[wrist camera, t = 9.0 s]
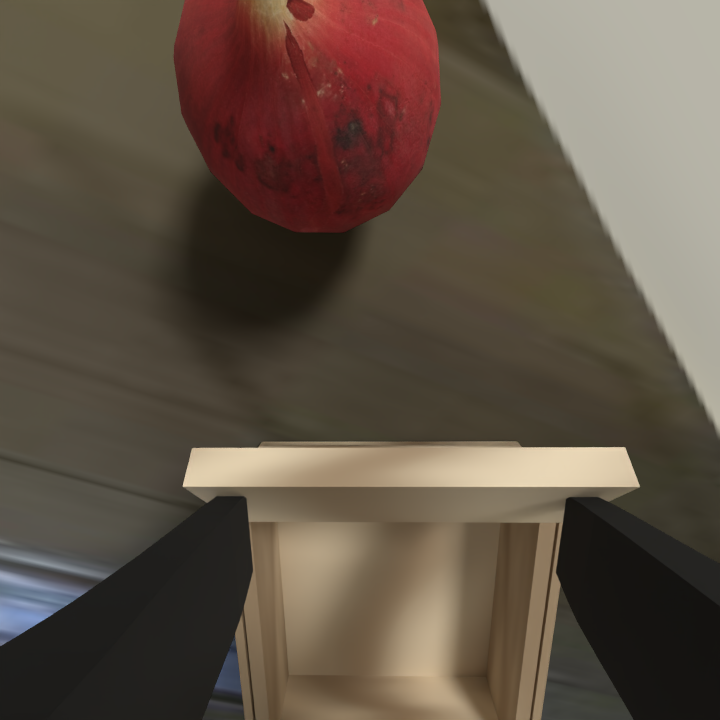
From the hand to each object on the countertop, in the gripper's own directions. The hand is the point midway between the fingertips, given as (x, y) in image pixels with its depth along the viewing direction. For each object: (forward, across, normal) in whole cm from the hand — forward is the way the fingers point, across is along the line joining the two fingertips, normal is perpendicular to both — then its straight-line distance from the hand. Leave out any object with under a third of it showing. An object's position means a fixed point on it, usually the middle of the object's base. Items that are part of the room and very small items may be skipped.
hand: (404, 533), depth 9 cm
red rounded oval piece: (+7, +2, -10) cm, 12 cm away
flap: (+1, 0, 0) cm, 1 cm away
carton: (+6, 0, +7) cm, 10 cm away
